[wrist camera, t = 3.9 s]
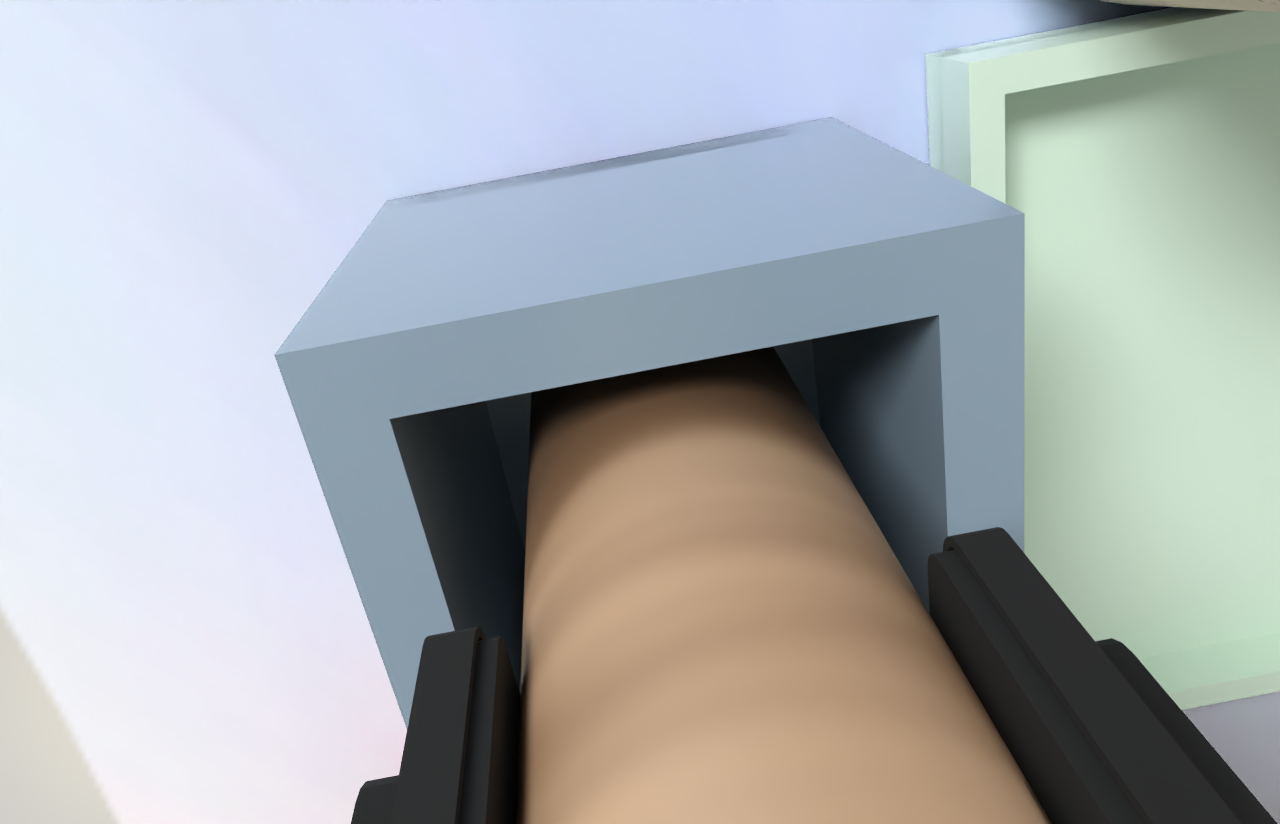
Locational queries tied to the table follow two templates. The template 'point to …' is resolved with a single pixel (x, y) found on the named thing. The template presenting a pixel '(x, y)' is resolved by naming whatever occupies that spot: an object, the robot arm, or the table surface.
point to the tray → (1143, 322)
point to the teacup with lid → (1209, 4)
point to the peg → (730, 623)
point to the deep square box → (656, 349)
